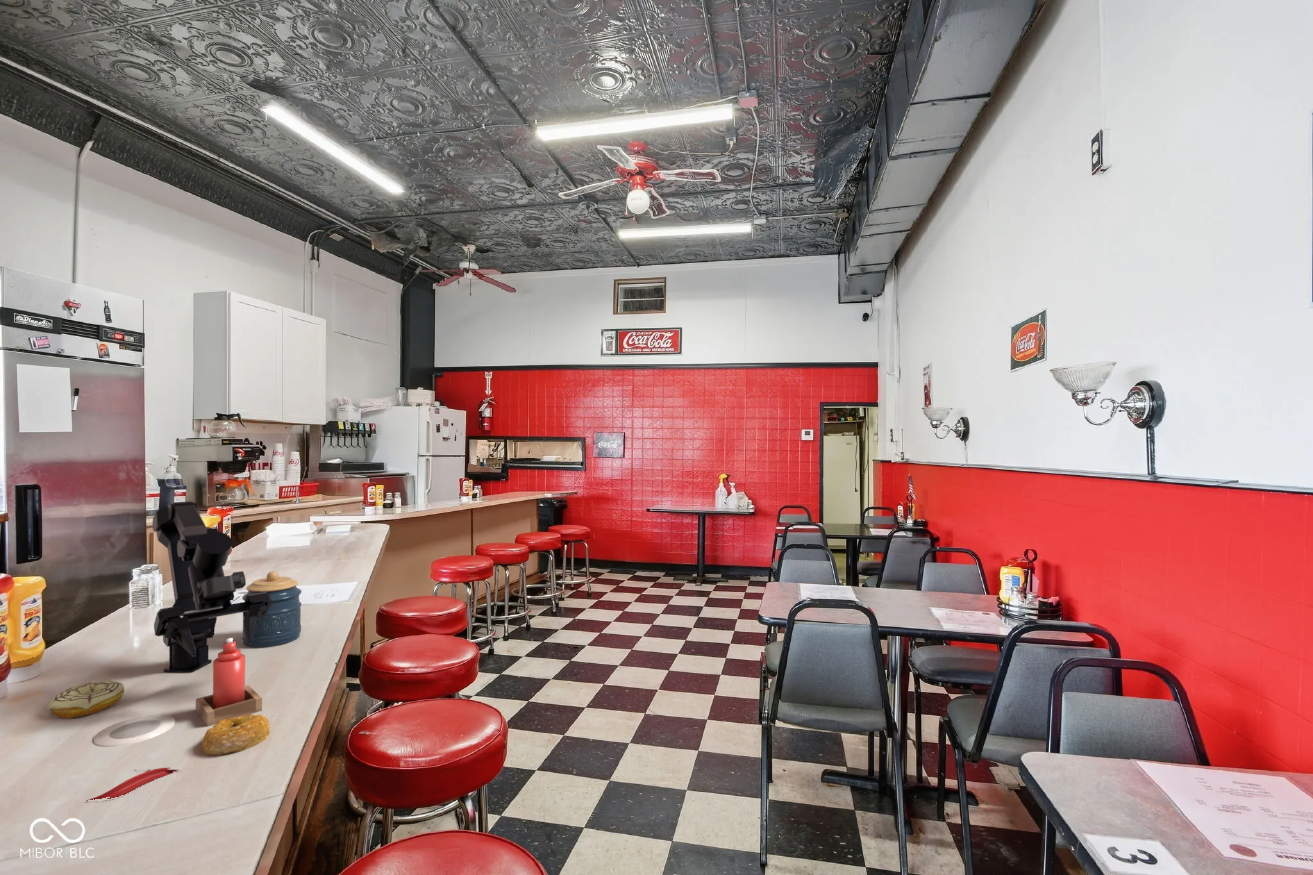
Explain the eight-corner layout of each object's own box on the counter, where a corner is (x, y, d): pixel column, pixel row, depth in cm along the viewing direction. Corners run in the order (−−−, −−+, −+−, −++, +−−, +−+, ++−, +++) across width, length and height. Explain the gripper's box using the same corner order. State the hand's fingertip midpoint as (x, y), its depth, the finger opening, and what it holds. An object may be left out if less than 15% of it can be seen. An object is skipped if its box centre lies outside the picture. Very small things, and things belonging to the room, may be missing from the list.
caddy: (195, 714, 116) (195, 698, 116) (248, 699, 123) (248, 685, 123) (207, 729, 111) (207, 712, 110) (261, 713, 117) (262, 697, 117)
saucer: (75, 748, 103) (75, 744, 103) (131, 718, 114) (131, 714, 114) (139, 750, 103) (139, 745, 103) (190, 719, 114) (190, 715, 114)
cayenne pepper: (80, 812, 87) (80, 798, 87) (80, 797, 91) (80, 784, 91) (186, 780, 95) (186, 768, 95) (182, 768, 99) (182, 756, 99)
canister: (306, 629, 166) (306, 564, 166) (294, 645, 154) (295, 575, 153) (250, 633, 162) (251, 567, 162) (234, 650, 150) (234, 578, 149)
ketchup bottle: (206, 716, 114) (206, 643, 114) (225, 704, 119) (225, 634, 119) (232, 717, 114) (233, 643, 114) (250, 705, 119) (251, 634, 119)
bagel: (276, 724, 113) (276, 699, 113) (262, 754, 103) (262, 727, 103) (212, 734, 109) (212, 708, 109) (191, 766, 99) (191, 737, 99)
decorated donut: (32, 721, 113) (32, 701, 113) (82, 696, 124) (82, 677, 124) (92, 720, 114) (92, 700, 114) (137, 695, 124) (137, 676, 124)
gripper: (157, 567, 116) (169, 638, 109) (269, 553, 130) (286, 615, 123) (148, 600, 121) (160, 671, 114) (257, 584, 135) (273, 645, 128)
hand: (223, 649), depth 119 cm, fingers open, 9 cm apart
